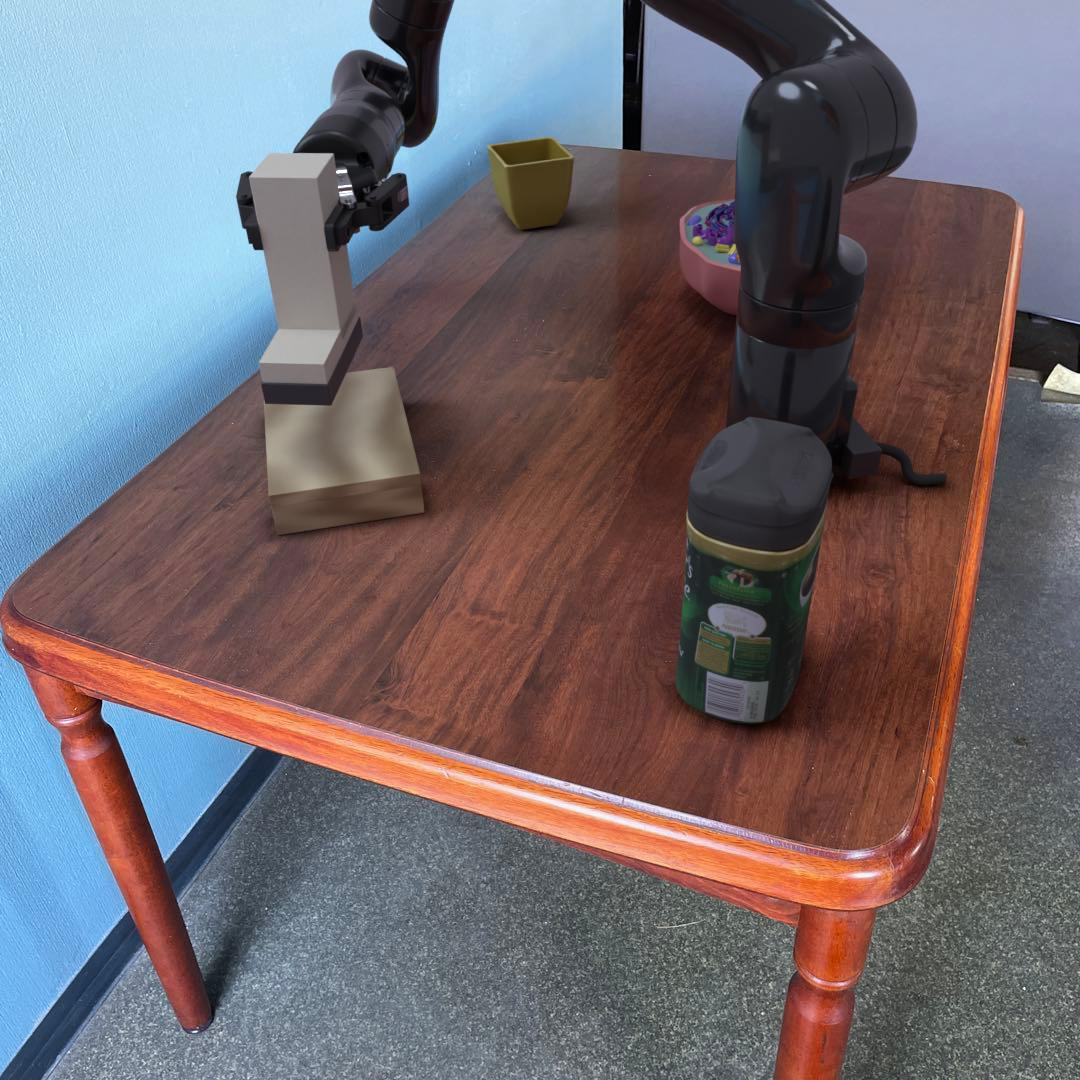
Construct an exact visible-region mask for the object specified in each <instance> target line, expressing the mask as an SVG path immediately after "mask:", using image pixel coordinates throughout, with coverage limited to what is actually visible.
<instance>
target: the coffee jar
mask: <svg viewBox="0 0 1080 1080" xmlns="http://www.w3.org/2000/svg"><path fill="white" fill-rule="evenodd" d="M832 478H833V473H832V459H831V456H830V453H829V451H828V449H827V448H826V446H825V445H824V444H823V442H822V441H821V440H820V439H819V438H818V437H817V436H816V435H815V434H814V433H813V431H812V430H811V429H809V428H806V427H802V426H798V425H794V424H789V423H785V422H780V421H774V420H768V419H762V418H755V417H748V418H746V419H745V420H744V421H741V422H738V423H736V424H734V425H731V426H729V427H727V428H726V427H725V428H724V429H722V430H720V431H719V432H718V433H716V434H715V436H713V437H712V438H711V440H709V443H708V444H707V446H706V447H705V449H704V450H703V451H702V452H701V454H700V456H699V458H698V459H697V462H696V464H695V466H694V468H693V470H692V474H691V475H690V478H689V483H688V498H687V508H686V517H685V519H686V552H685V553H686V554H685V569H684V582H683V594H682V605H681V606H682V608H681V619H680V629H679V638H678V639H679V641H678V652H677V661H676V673H675V686H676V690H677V693H678V695H679V696H680V697H681V699H682V700H683V701H684V702H685V703H686V704H687V705H689V706H690V707H692V708H693V709H695V710H697V711H699V712H700V713H702V714H704V715H706V716H708V717H711V718H714V719H717V720H721V721H723V722H727V723H732V724H742V725H759V724H765V723H767V722H768V723H769V722H771V721H773V720H774V719H776V718H777V717H778V716H779V715H780V714H781V713H782V712H783V711H784V710H785V708H786V707H787V705H788V703H789V701H790V699H791V697H792V695H793V693H794V690H795V687H796V685H797V682H798V679H799V676H800V673H801V672H800V671H801V667H802V662H803V657H804V656H803V655H804V650H805V644H806V637H807V630H808V624H809V623H808V622H809V617H810V609H811V603H812V597H813V593H814V592H813V591H814V587H815V581H816V575H817V569H818V562H819V557H820V550H821V544H822V538H823V532H824V526H825V522H826V521H825V520H826V513H827V507H828V502H829V495H830V489H831V485H830V483H831V480H832Z"/></svg>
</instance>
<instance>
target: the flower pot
mask: <svg viewBox="0 0 1080 1080" xmlns="http://www.w3.org/2000/svg"><path fill="white" fill-rule="evenodd" d="M487 153H488V160H489V165H490V170H491V176H492V182H493V186H494V189H495V192H496V196H497V199H498V200H499V202H500V204H501V206H502V208H503V210H504V212H505V213H506V215H507V217H508V218H509V219H510V221H511V223H513V224H514V225H515V227H516V228H517V230H521V231H523V230H531V229H535V228H537V229H538V228H541V227H549V226H555V225H557V224H558V223H559V222H560V220H561V219H562V217H563V216H564V213H565V211H566V209H567V207H568V205H569V202H570V196H571V190H572V182H573V174H574V173H573V172H574V164H575V162H574V161H575V156H574V155H573V154H572V153H571V152H569V151H568V150H567V149H566V148H565V147H564V146H563V145H562V144H561V143H560V142H559V141H558V139H556V138H555V137H553V136H547V137H546V136H545V137H538V138H531V139H523V140H515V141H508V142H500V143H493V144H488V145H487Z"/></svg>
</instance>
